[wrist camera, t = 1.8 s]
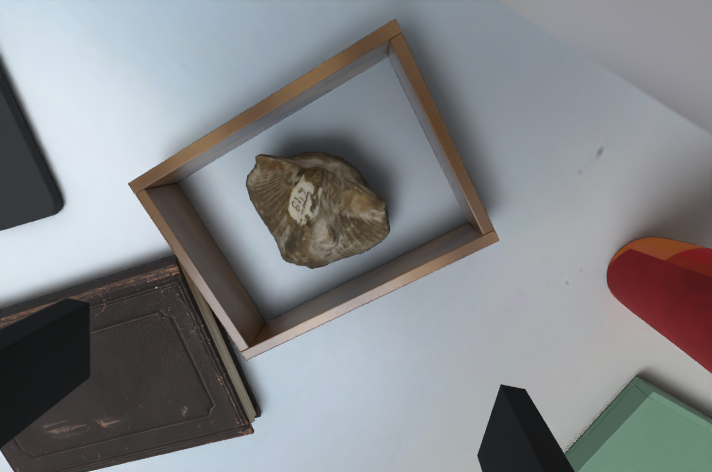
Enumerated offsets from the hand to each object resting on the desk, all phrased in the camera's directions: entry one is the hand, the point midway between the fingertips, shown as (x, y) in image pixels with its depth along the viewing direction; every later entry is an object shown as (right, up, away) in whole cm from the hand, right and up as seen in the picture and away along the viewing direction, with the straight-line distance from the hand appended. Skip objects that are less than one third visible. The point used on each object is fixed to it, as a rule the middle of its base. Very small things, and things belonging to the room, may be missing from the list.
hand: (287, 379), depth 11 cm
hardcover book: (-20, -7, +21) cm, 29 cm away
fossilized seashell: (-1, +7, +16) cm, 17 cm away
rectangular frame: (-1, +7, +16) cm, 17 cm away
